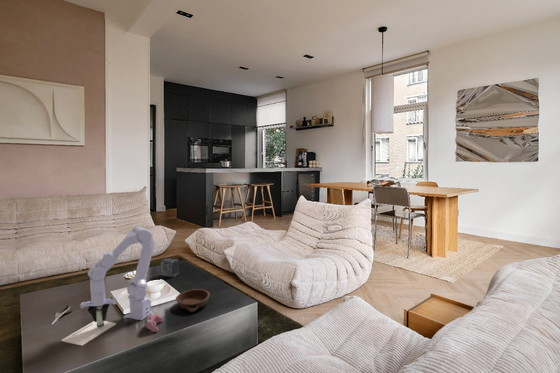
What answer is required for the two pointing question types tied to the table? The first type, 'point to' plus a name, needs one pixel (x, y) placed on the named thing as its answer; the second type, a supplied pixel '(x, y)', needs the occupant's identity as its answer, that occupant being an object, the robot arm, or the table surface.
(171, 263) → the small box
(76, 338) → the notepad
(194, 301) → the dish
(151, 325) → the video game controller
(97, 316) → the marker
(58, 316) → the scissors
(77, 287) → the table surface
